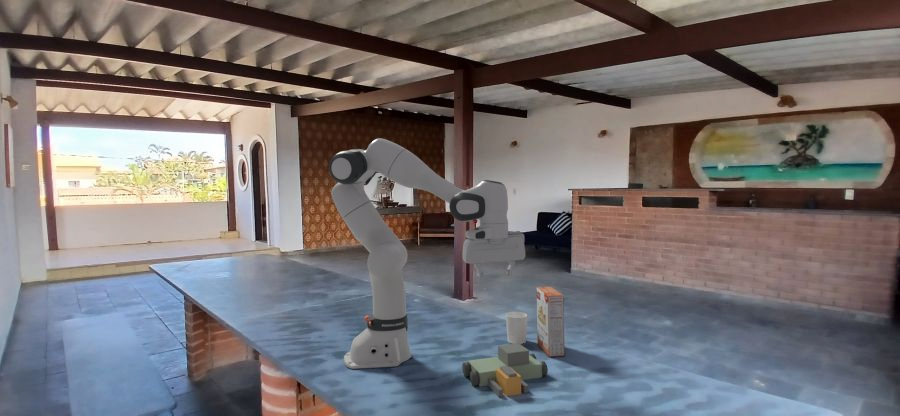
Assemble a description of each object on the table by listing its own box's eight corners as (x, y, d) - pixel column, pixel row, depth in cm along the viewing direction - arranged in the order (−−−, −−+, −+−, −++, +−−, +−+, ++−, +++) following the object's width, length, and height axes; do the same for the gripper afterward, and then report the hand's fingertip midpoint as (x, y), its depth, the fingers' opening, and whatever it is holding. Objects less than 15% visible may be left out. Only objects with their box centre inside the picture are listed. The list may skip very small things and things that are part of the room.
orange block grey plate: (506, 396, 126) (505, 375, 126) (496, 386, 133) (495, 366, 133) (521, 394, 128) (521, 373, 127) (510, 384, 134) (510, 364, 134)
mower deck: (484, 399, 124) (484, 370, 124) (462, 373, 142) (461, 347, 142) (560, 387, 131) (560, 359, 131) (530, 364, 149) (530, 339, 148)
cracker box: (536, 343, 168) (535, 286, 167) (552, 342, 169) (552, 286, 168) (547, 357, 154) (547, 295, 153) (565, 356, 155) (564, 294, 154)
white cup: (527, 345, 166) (527, 318, 166) (505, 344, 168) (504, 317, 167) (528, 338, 174) (527, 312, 174) (506, 337, 176) (506, 311, 175)
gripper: (519, 229, 151) (520, 271, 152) (460, 232, 145) (461, 276, 146) (528, 231, 145) (529, 275, 146) (467, 234, 139) (467, 279, 140)
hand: (494, 275), depth 146 cm, fingers open, 8 cm apart
